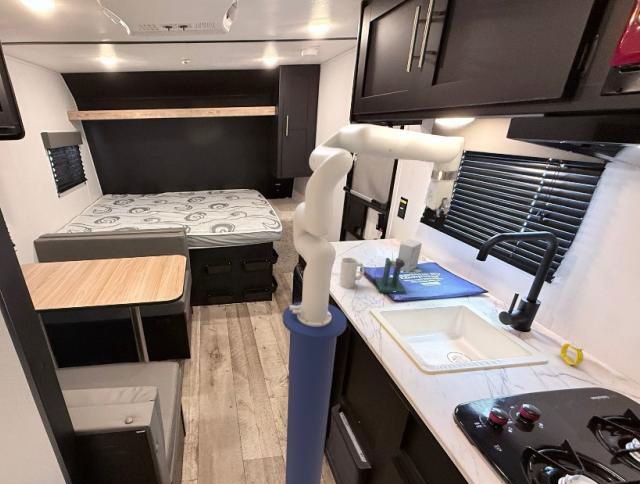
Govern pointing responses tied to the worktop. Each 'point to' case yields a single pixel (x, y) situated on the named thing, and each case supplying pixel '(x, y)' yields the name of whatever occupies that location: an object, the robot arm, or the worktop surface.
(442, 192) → the robot arm
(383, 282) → the toaster bracket
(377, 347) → the worktop surface
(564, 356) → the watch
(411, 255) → the small box
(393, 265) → the toaster lever
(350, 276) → the mug
